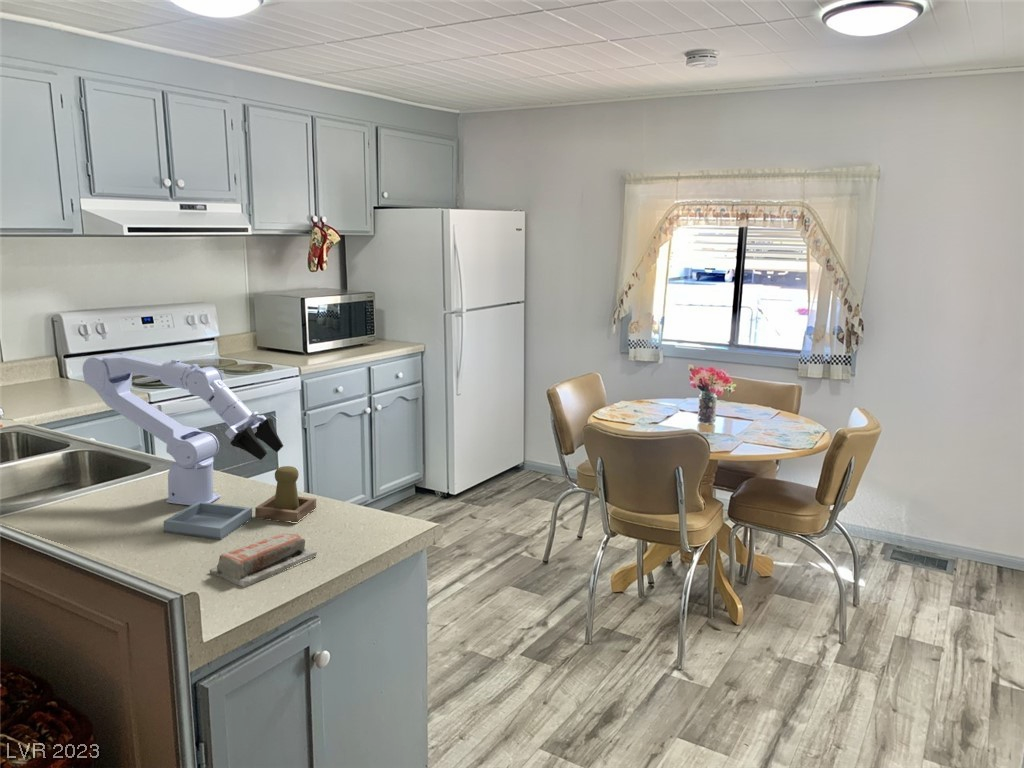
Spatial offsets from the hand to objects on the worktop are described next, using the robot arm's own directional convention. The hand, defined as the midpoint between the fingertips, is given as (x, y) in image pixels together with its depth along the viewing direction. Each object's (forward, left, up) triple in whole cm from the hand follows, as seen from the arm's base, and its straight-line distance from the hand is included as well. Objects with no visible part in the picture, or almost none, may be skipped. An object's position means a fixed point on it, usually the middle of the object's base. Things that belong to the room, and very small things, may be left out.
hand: (272, 452), depth 179 cm
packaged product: (+12, -27, -15) cm, 33 cm away
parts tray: (-8, -12, -14) cm, 20 cm away
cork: (+4, 0, -14) cm, 15 cm away
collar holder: (+4, 0, -14) cm, 14 cm away
